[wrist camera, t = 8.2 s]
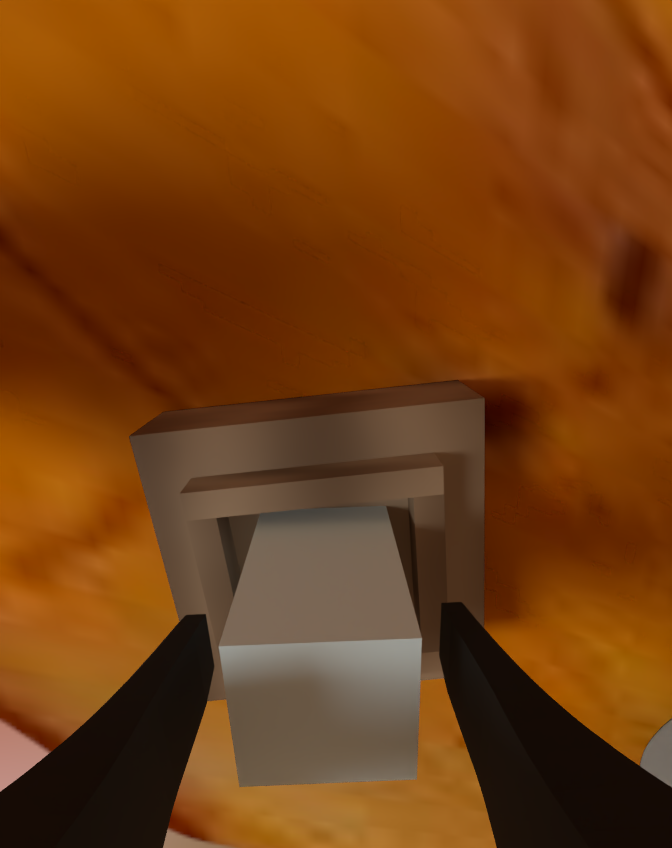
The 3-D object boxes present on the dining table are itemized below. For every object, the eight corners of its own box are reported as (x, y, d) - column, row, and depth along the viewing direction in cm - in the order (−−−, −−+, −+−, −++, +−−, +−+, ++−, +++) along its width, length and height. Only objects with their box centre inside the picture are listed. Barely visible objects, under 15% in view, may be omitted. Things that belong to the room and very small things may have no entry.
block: (271, 612, 16) (239, 786, 10) (260, 510, 15) (218, 646, 9) (385, 608, 16) (416, 779, 10) (385, 505, 15) (421, 637, 9)
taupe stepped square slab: (219, 644, 20) (192, 730, 16) (163, 411, 17) (111, 449, 13) (461, 620, 20) (495, 701, 16) (457, 380, 17) (498, 407, 13)
